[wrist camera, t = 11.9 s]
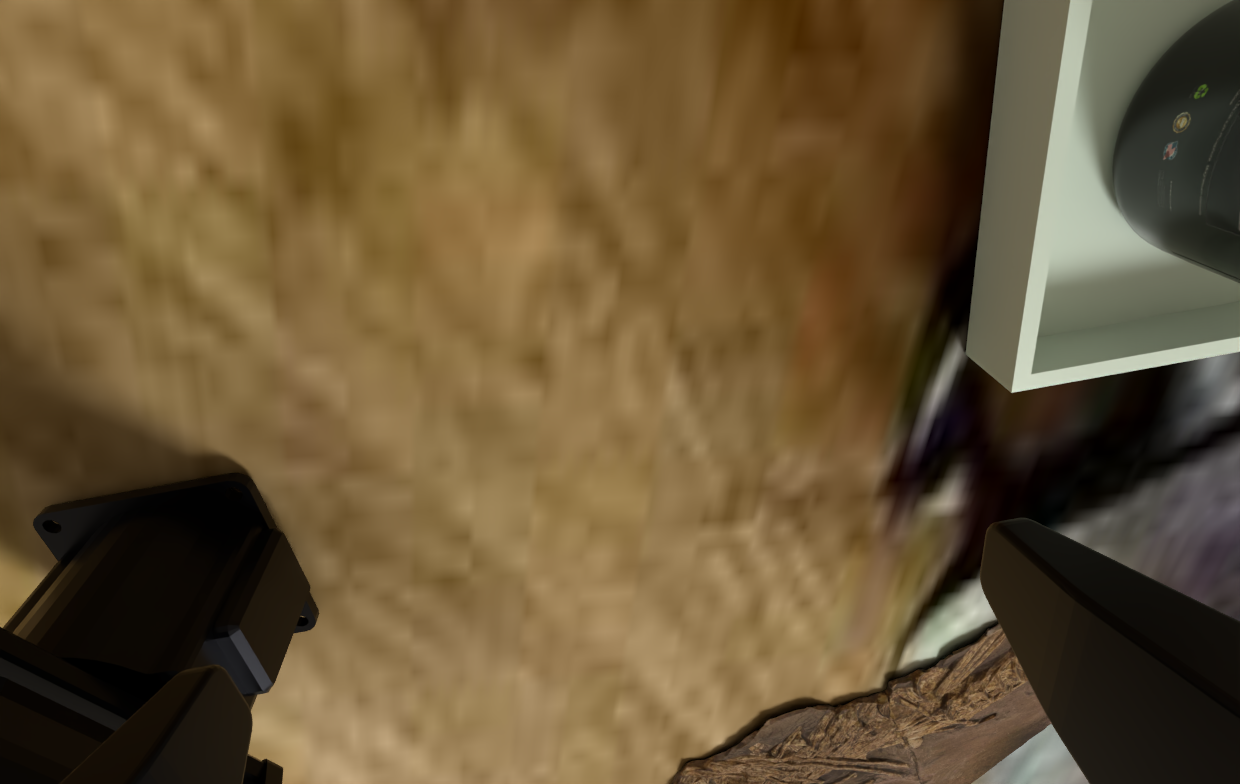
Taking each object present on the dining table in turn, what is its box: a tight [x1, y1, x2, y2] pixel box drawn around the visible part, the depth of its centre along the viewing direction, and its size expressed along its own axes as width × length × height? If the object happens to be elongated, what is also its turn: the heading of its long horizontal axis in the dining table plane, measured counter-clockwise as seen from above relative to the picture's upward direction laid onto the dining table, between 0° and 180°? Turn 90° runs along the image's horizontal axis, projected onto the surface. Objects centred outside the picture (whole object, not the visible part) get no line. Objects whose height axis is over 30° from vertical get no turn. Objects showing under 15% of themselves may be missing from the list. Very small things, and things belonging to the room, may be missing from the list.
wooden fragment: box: [672, 623, 1051, 784], centre depth 33 cm, size 26×11×1 cm, turn 117°
